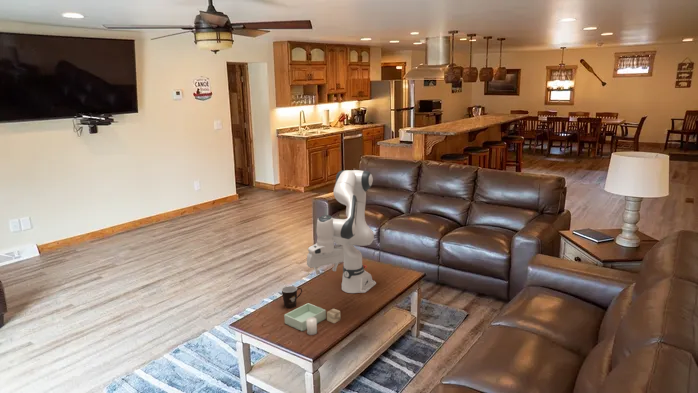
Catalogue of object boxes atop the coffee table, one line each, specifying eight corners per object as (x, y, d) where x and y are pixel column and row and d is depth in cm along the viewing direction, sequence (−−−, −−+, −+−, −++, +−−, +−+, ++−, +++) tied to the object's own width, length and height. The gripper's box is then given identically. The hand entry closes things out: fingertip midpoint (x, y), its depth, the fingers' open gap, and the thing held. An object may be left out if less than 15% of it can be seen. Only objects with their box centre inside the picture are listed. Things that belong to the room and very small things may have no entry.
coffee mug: (283, 310, 263) (282, 293, 260) (282, 303, 271) (281, 286, 269) (304, 307, 265) (303, 291, 262) (302, 300, 273) (301, 284, 271)
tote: (308, 311, 261) (308, 302, 259) (326, 318, 252) (325, 309, 251) (284, 323, 248) (284, 314, 247) (302, 331, 240) (301, 322, 238)
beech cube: (333, 317, 254) (333, 308, 253) (340, 319, 250) (340, 311, 249) (327, 320, 250) (326, 311, 249) (334, 323, 247) (333, 314, 246)
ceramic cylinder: (312, 328, 242) (311, 316, 240) (319, 332, 239) (318, 319, 237) (304, 332, 238) (304, 320, 237) (311, 336, 235) (311, 323, 234)
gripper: (340, 242, 253) (341, 267, 256) (305, 248, 243) (305, 274, 246) (346, 245, 248) (346, 270, 250) (310, 251, 238) (310, 278, 241)
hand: (326, 272), depth 248 cm, fingers open, 8 cm apart
